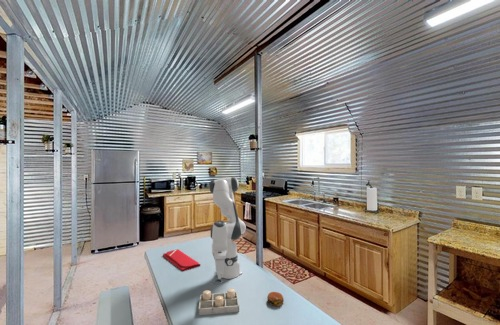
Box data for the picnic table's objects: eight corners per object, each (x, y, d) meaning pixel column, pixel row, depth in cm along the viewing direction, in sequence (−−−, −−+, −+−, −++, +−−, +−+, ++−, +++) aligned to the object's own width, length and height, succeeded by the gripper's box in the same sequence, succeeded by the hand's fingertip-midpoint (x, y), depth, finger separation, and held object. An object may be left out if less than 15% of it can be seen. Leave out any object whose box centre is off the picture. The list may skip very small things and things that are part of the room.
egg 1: (202, 300, 140) (202, 290, 141) (210, 300, 141) (210, 290, 141) (202, 305, 136) (202, 294, 136) (210, 304, 137) (210, 294, 137)
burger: (276, 296, 147) (276, 288, 147) (286, 303, 139) (286, 295, 139) (263, 301, 142) (263, 293, 142) (273, 309, 134) (273, 300, 134)
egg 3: (227, 298, 142) (227, 288, 142) (234, 298, 143) (234, 288, 143) (227, 303, 138) (227, 292, 138) (235, 302, 138) (235, 292, 139)
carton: (200, 300, 142) (200, 294, 142) (237, 297, 145) (237, 291, 145) (198, 316, 127) (198, 309, 127) (239, 312, 130) (239, 305, 130)
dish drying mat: (182, 272, 181) (182, 267, 181) (162, 256, 212) (162, 252, 212) (200, 266, 191) (200, 261, 191) (179, 252, 222) (179, 248, 222)
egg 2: (215, 306, 134) (215, 296, 135) (223, 306, 135) (223, 295, 135) (215, 311, 130) (215, 300, 130) (223, 310, 131) (223, 300, 131)
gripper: (214, 243, 146) (214, 265, 146) (214, 257, 126) (213, 283, 126) (224, 243, 147) (224, 265, 147) (226, 257, 127) (225, 282, 127)
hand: (219, 273), depth 136 cm, fingers open, 8 cm apart
